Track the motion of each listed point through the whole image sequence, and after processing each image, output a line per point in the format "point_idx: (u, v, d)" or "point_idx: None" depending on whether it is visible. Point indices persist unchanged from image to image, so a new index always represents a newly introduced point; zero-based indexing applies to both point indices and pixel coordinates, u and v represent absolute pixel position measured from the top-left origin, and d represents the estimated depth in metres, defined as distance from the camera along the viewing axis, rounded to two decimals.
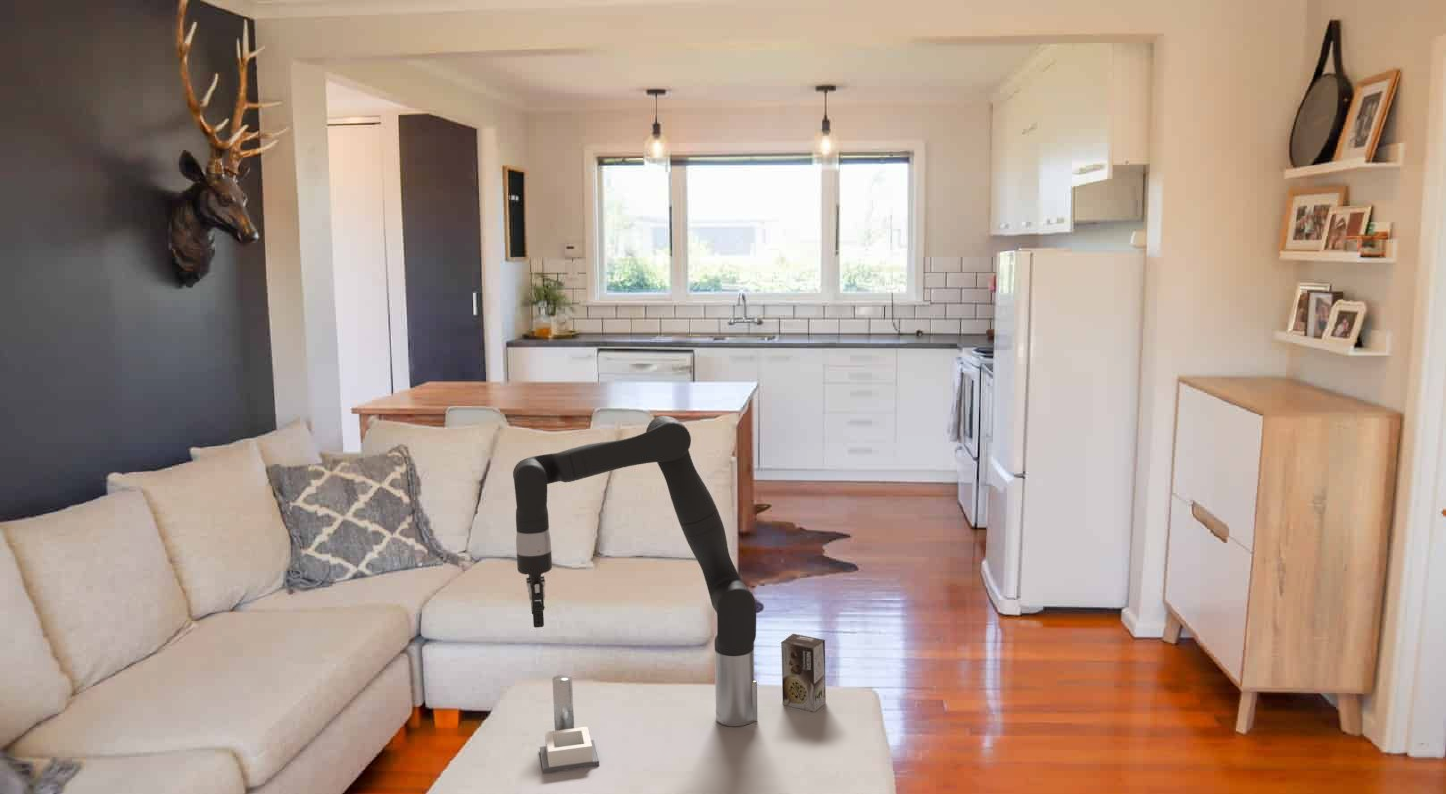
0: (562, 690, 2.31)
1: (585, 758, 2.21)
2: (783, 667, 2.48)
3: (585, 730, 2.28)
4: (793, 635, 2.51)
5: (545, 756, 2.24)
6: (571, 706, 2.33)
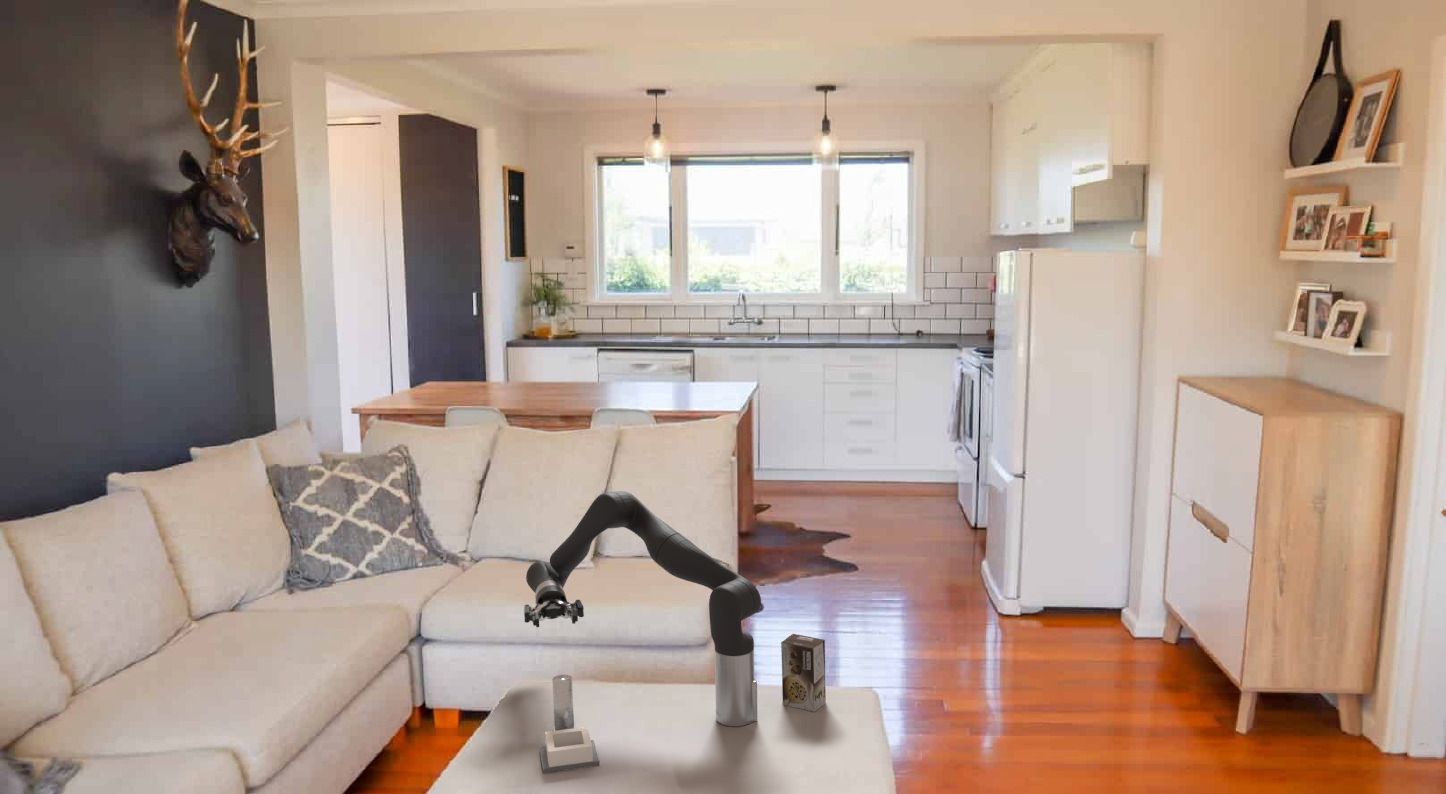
0: (562, 690, 2.31)
1: (585, 758, 2.21)
2: (783, 667, 2.48)
3: (585, 730, 2.28)
4: (793, 635, 2.51)
5: (545, 756, 2.24)
6: (571, 706, 2.33)
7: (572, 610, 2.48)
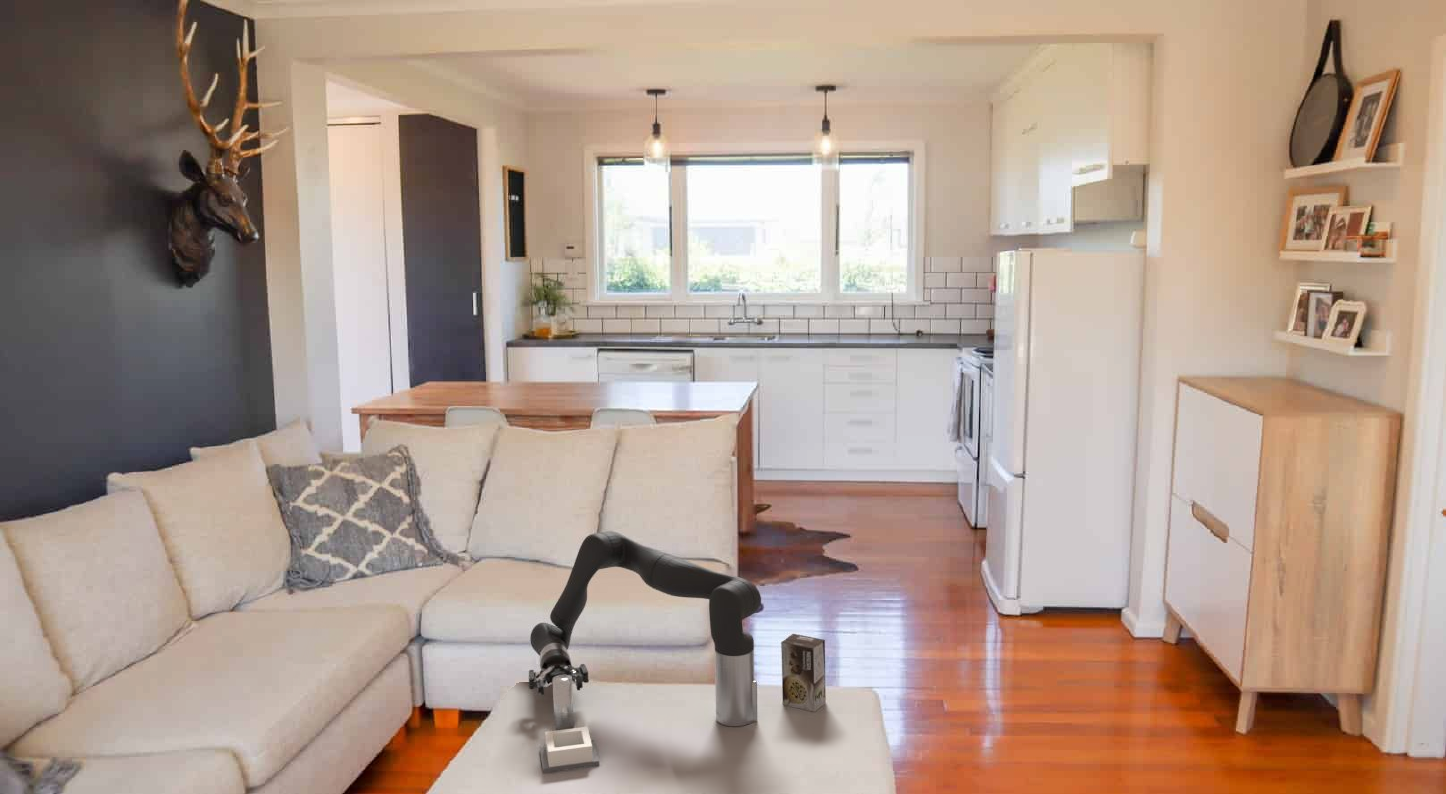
0: (562, 690, 2.31)
1: (585, 758, 2.21)
2: (783, 667, 2.48)
3: (585, 730, 2.28)
4: (793, 635, 2.51)
5: (545, 756, 2.24)
6: (571, 706, 2.33)
7: (577, 676, 2.46)
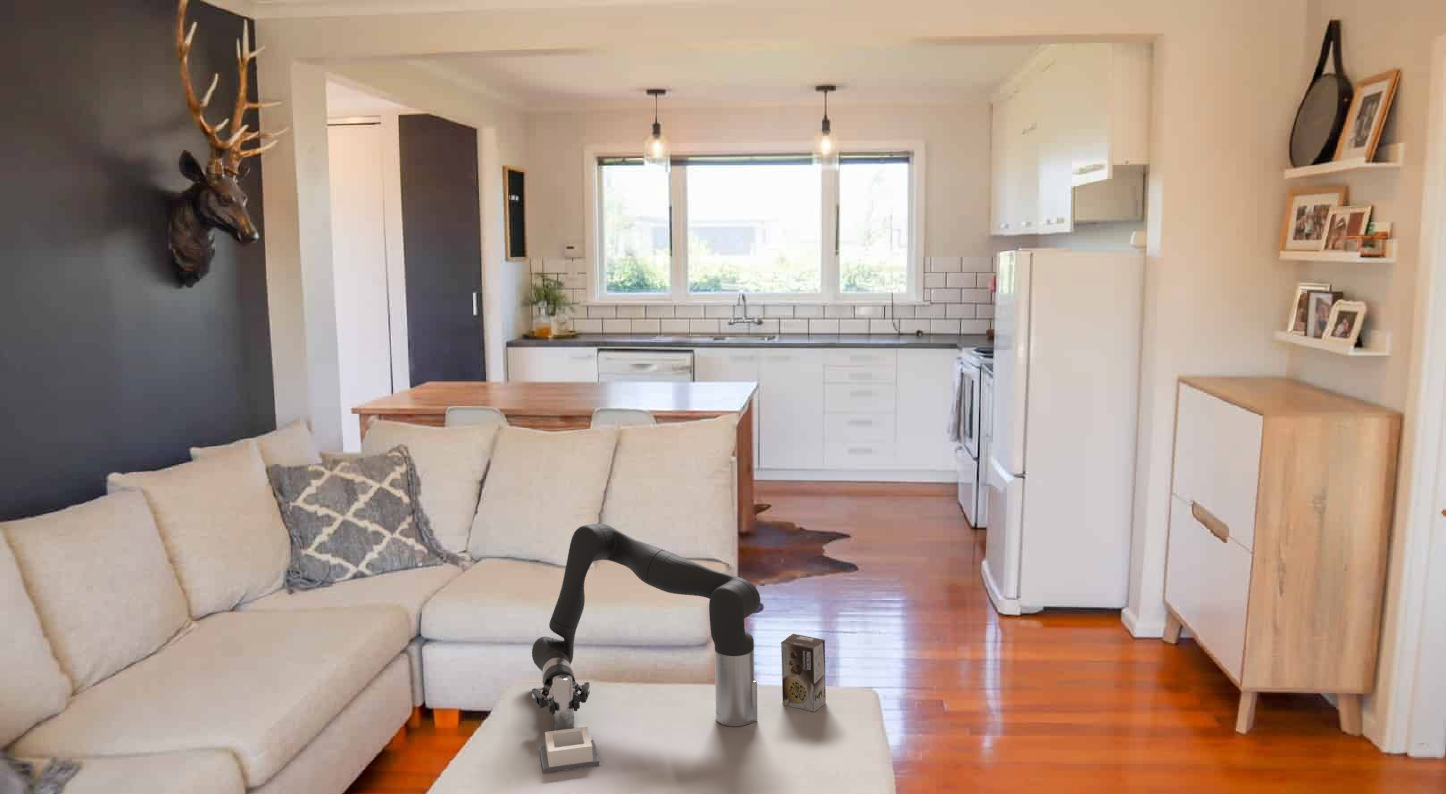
0: (562, 689, 2.31)
1: (585, 758, 2.21)
2: (783, 667, 2.48)
3: (585, 730, 2.28)
4: (793, 635, 2.51)
5: (545, 756, 2.24)
6: (571, 706, 2.33)
7: (574, 696, 2.35)
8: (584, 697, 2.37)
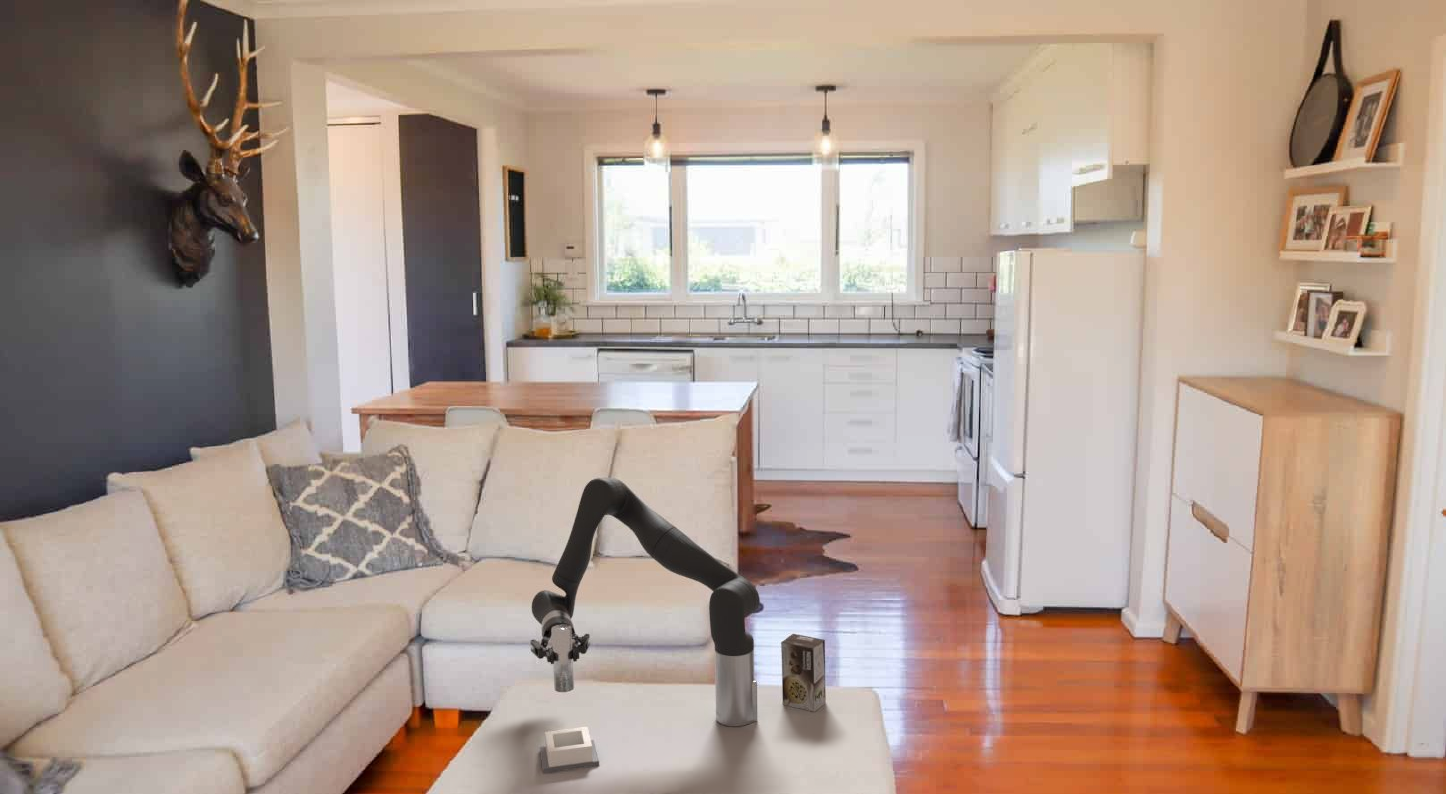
0: (561, 639, 2.25)
1: (585, 758, 2.21)
2: (783, 667, 2.48)
3: (585, 730, 2.28)
4: (793, 635, 2.51)
5: (545, 756, 2.24)
6: (570, 656, 2.27)
7: (573, 646, 2.29)
8: (584, 648, 2.30)
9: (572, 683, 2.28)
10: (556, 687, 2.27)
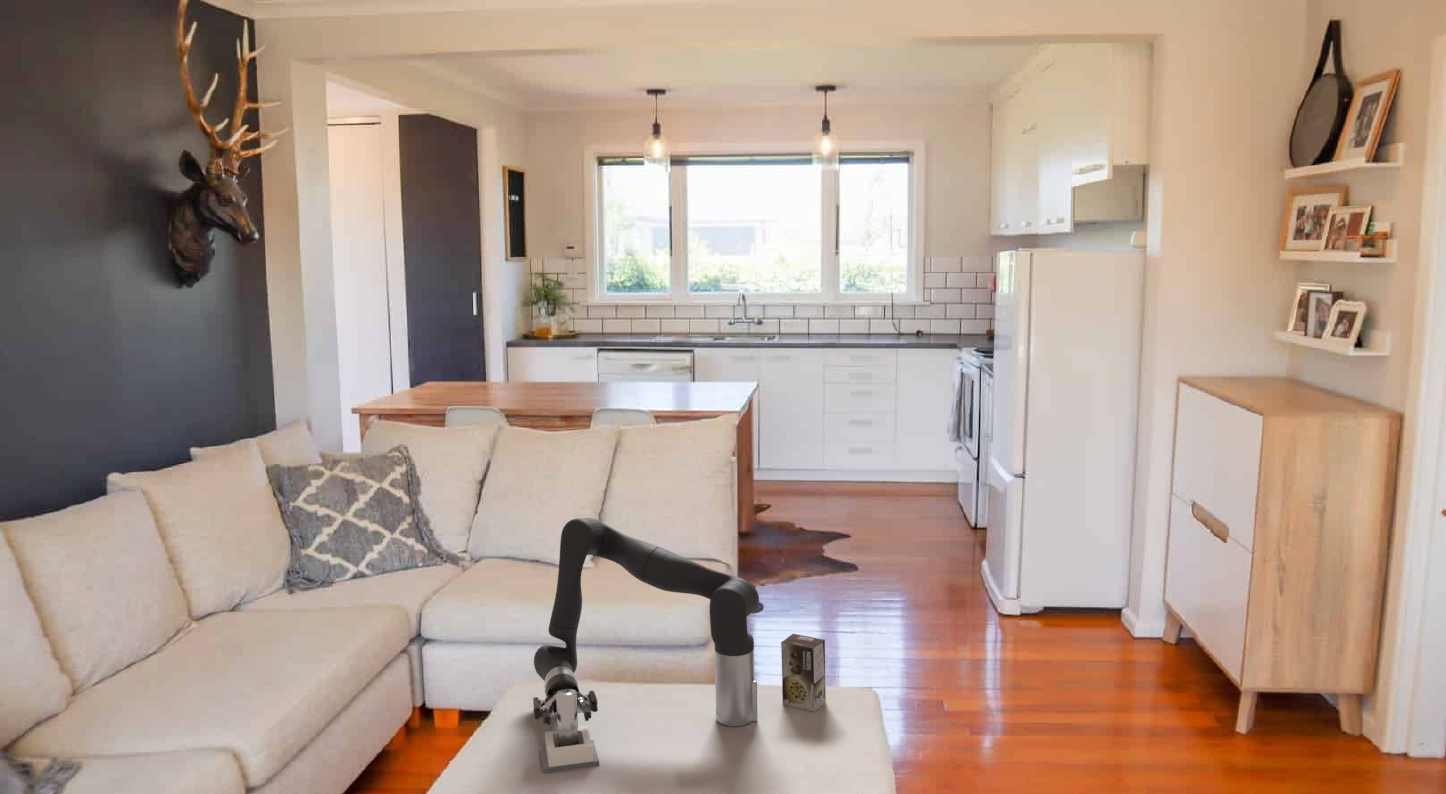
0: (566, 705, 2.21)
1: (585, 758, 2.21)
2: (783, 667, 2.48)
3: (585, 730, 2.28)
4: (793, 635, 2.51)
5: (545, 756, 2.24)
6: (575, 722, 2.23)
7: (585, 705, 2.26)
8: (596, 706, 2.28)
9: None
10: None
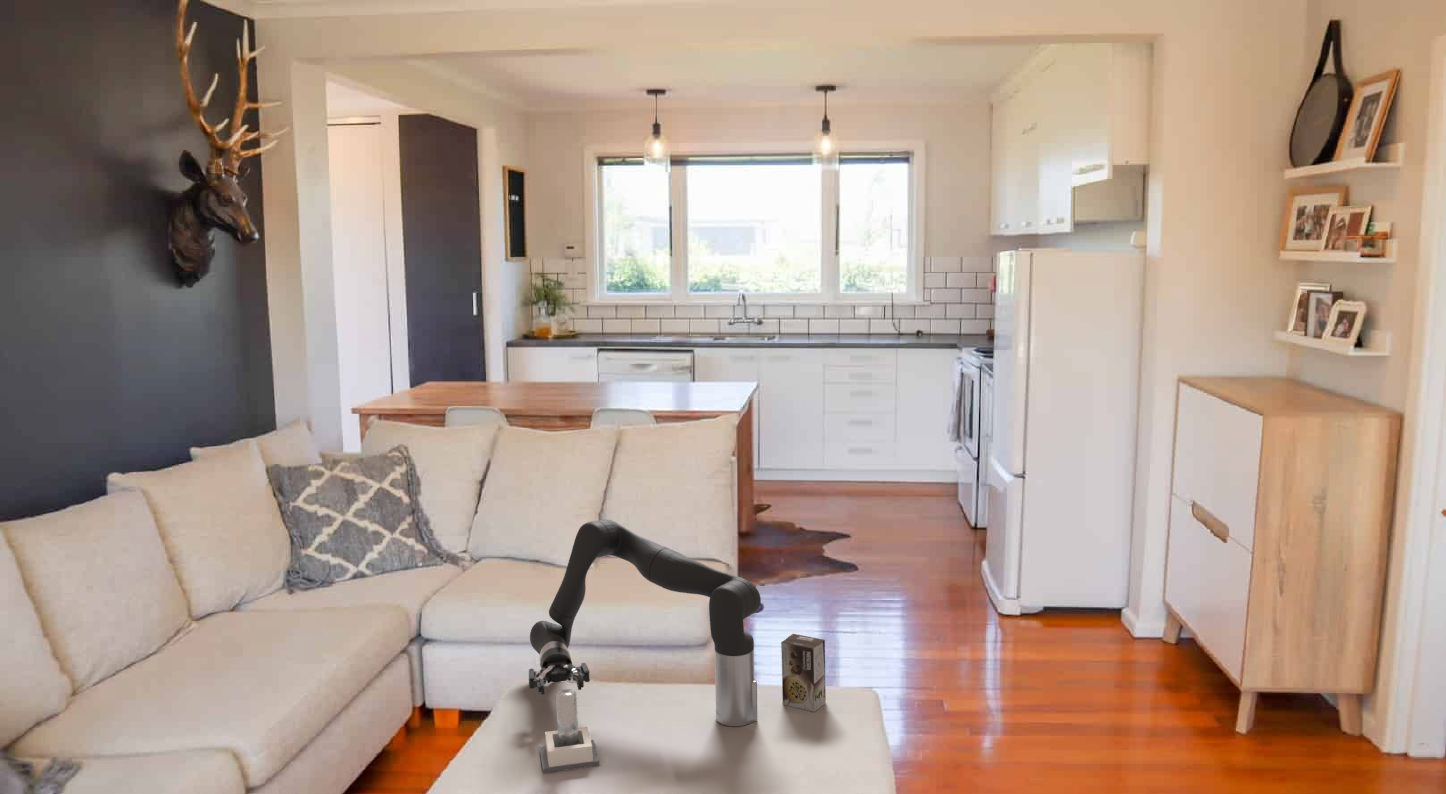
0: (566, 705, 2.21)
1: (585, 758, 2.21)
2: (783, 667, 2.48)
3: (585, 730, 2.28)
4: (793, 635, 2.51)
5: (545, 756, 2.24)
6: (575, 722, 2.23)
7: (578, 675, 2.42)
8: (588, 676, 2.44)
9: None
10: None
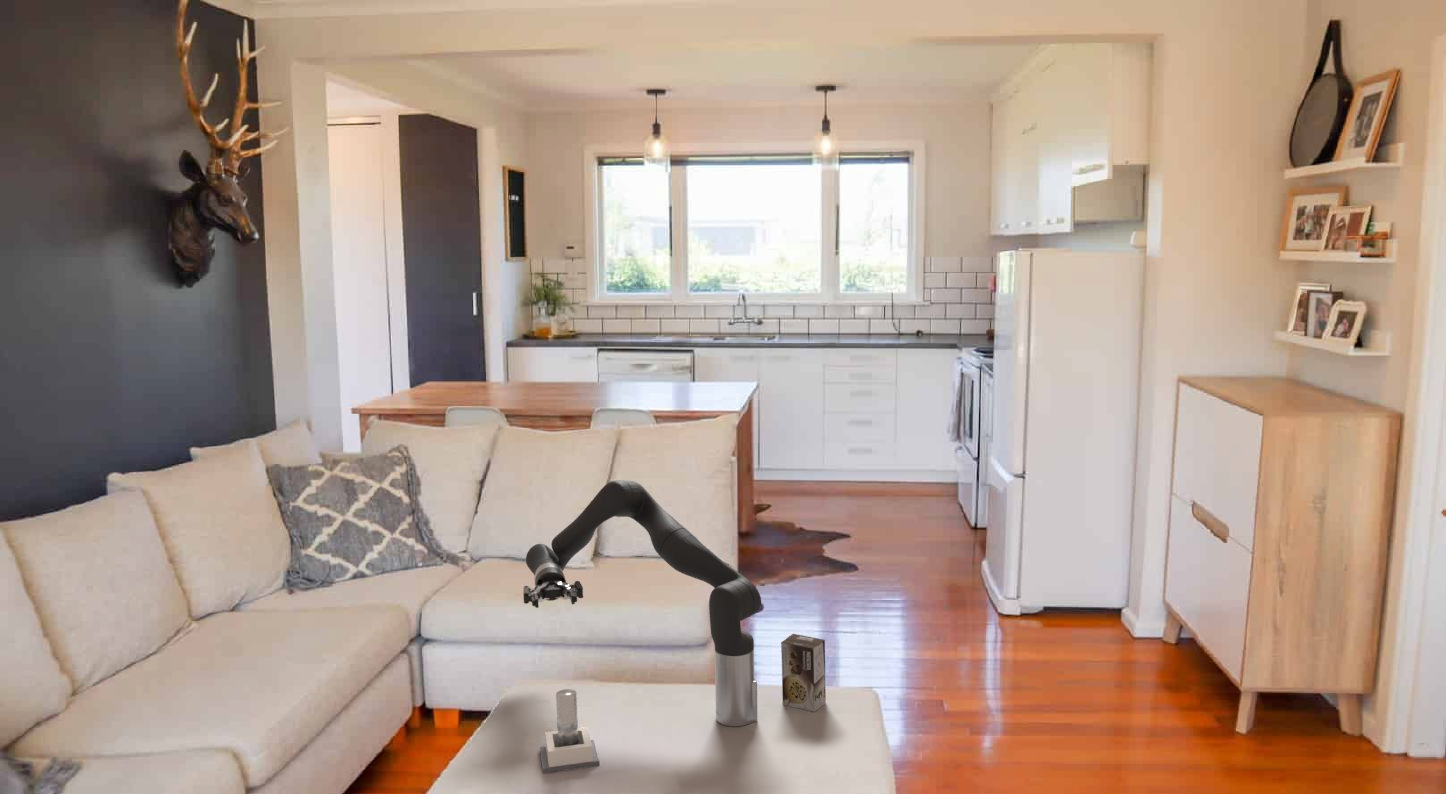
0: (566, 705, 2.21)
1: (585, 758, 2.21)
2: (783, 667, 2.48)
3: (585, 730, 2.28)
4: (793, 635, 2.51)
5: (545, 756, 2.24)
6: (575, 722, 2.23)
7: (571, 591, 2.47)
8: (582, 592, 2.49)
9: None
10: None
